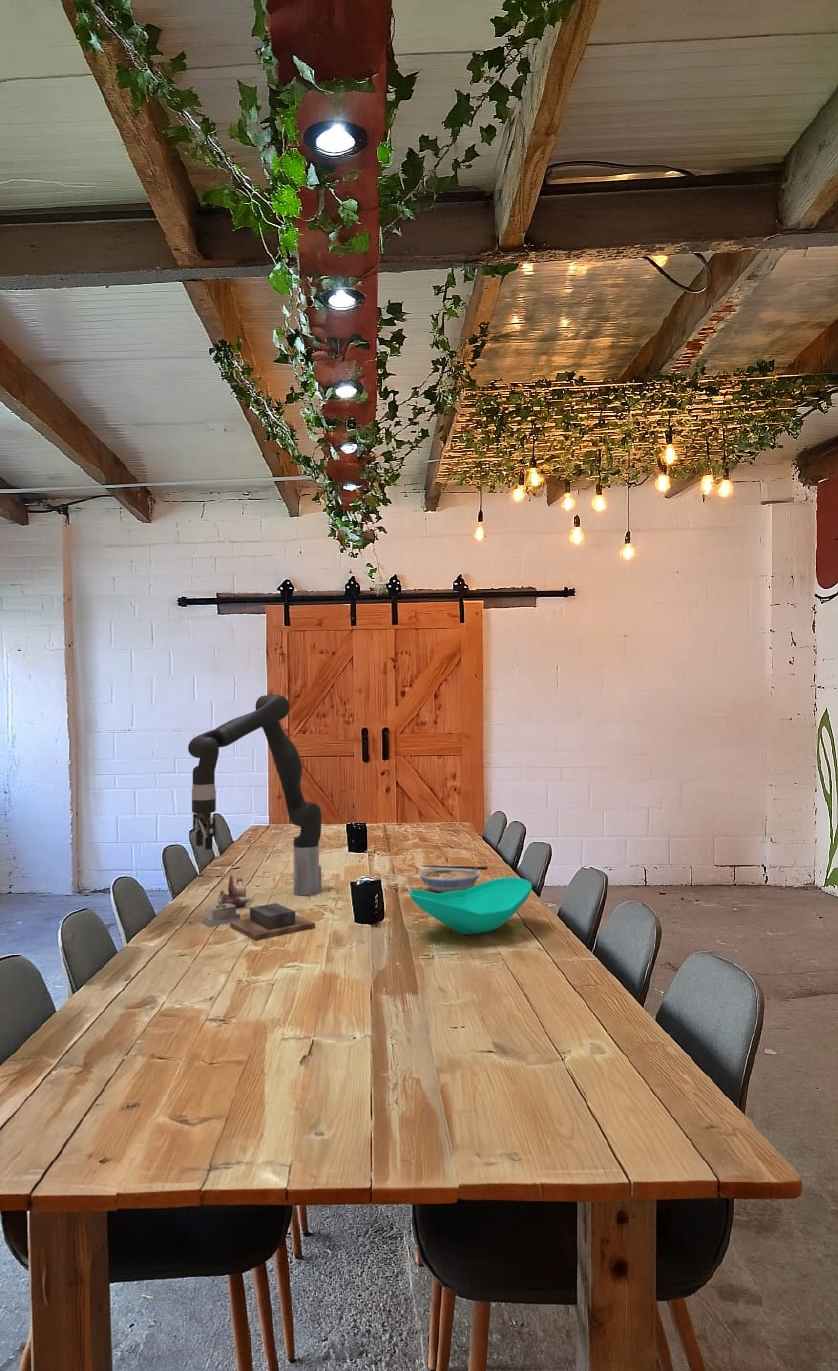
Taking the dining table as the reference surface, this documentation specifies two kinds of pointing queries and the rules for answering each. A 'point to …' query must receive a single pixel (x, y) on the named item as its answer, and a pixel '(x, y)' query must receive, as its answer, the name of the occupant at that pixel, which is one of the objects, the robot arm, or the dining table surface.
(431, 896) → the table top decor
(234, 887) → the brake caliper
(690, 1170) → the dining table surface
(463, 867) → the ramen bowl
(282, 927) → the stand
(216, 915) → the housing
